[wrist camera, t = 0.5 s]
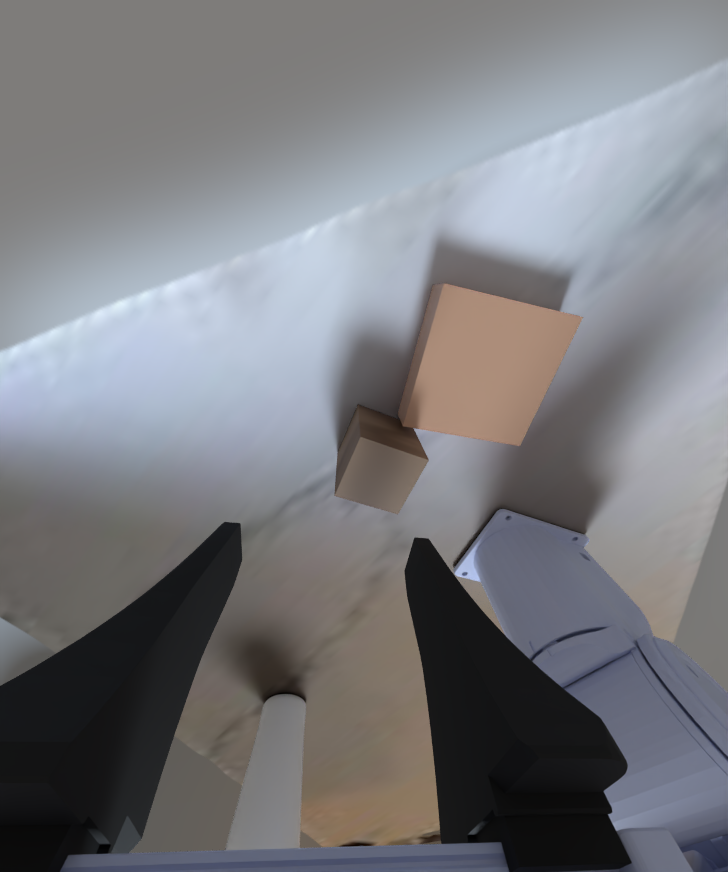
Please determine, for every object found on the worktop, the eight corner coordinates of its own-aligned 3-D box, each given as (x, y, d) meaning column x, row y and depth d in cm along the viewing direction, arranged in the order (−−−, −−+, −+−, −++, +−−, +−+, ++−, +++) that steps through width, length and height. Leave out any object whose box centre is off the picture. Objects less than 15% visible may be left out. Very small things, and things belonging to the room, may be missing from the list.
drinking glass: (254, 712, 37) (200, 952, 23) (262, 685, 34) (205, 939, 21) (306, 716, 38) (283, 947, 25) (318, 691, 35) (299, 934, 22)
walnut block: (411, 423, 20) (428, 460, 16) (387, 469, 22) (397, 514, 17) (357, 404, 19) (360, 436, 15) (337, 452, 21) (334, 495, 16)
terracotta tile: (553, 314, 18) (583, 317, 16) (501, 430, 21) (519, 446, 19) (430, 284, 17) (444, 283, 14) (396, 411, 20) (402, 426, 18)
